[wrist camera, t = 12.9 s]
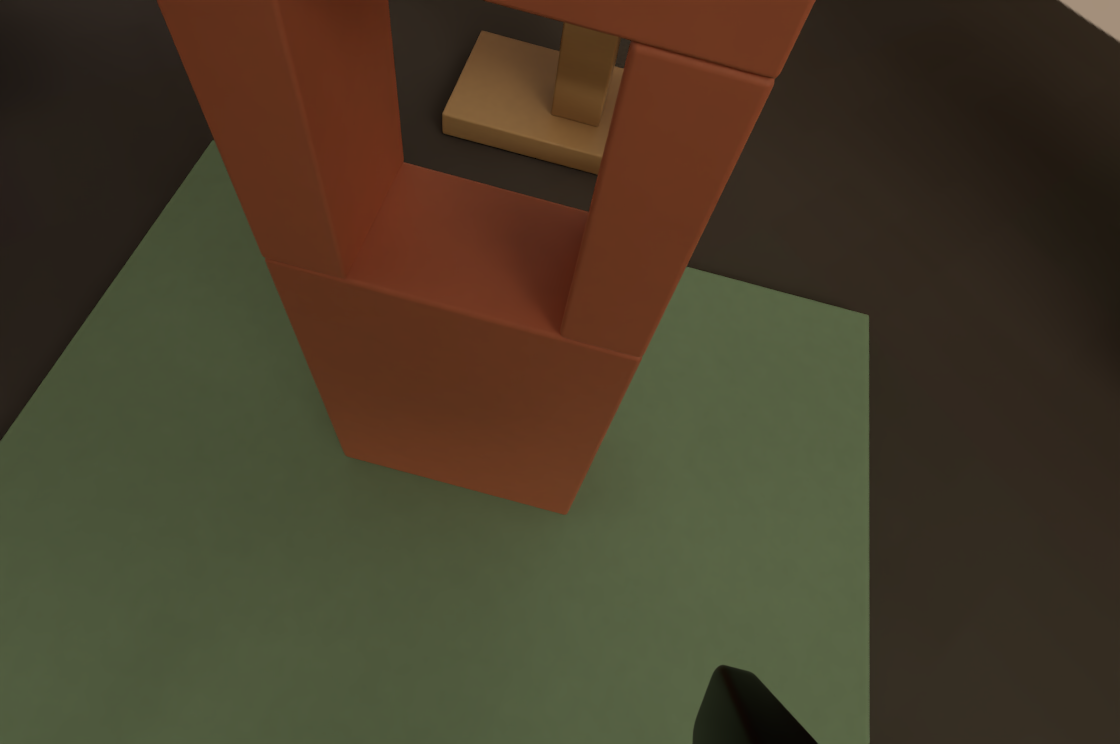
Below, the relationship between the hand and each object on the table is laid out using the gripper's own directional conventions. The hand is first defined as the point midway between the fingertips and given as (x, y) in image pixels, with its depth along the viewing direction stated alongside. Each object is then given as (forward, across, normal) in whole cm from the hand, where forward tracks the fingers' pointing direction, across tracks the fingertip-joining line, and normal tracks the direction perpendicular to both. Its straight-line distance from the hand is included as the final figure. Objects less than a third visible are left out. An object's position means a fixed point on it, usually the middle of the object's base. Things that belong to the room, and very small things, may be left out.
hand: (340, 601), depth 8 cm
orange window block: (+8, 0, +1) cm, 8 cm away
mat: (+7, 0, +3) cm, 8 cm away
